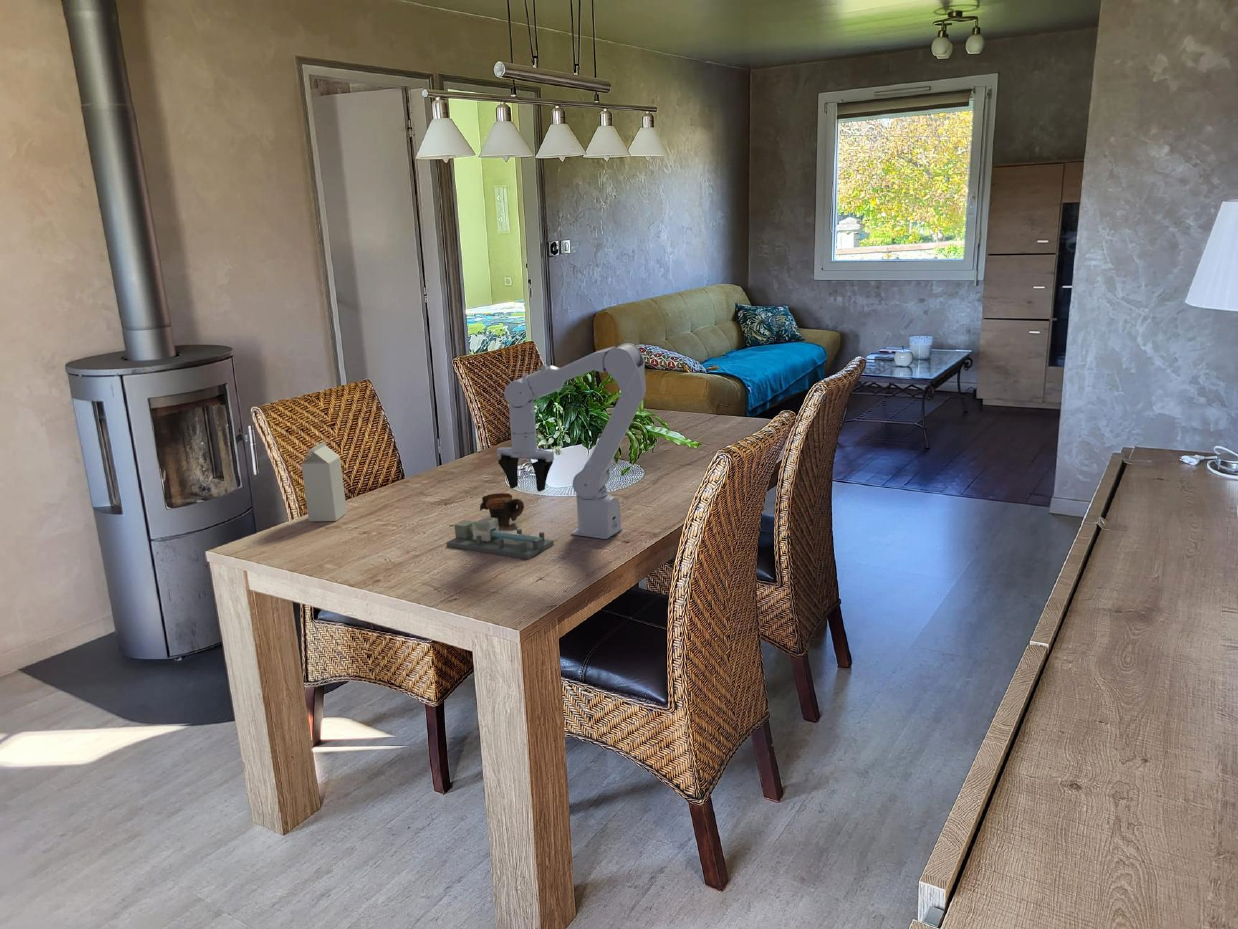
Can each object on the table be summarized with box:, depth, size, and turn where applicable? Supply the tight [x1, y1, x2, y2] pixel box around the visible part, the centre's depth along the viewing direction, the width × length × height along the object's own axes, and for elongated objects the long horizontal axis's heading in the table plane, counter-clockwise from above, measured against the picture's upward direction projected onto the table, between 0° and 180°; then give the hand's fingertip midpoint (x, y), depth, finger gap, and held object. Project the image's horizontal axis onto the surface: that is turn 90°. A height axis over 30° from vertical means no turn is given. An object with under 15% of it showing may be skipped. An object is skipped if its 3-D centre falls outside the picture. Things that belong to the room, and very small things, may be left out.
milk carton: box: [300, 440, 348, 522], centre depth 229 cm, size 7×7×19 cm
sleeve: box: [472, 516, 499, 541], centre depth 205 cm, size 4×4×4 cm
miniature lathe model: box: [446, 519, 555, 560], centre depth 204 cm, size 22×10×4 cm, turn 61°
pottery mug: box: [479, 492, 525, 527], centre depth 221 cm, size 12×10×8 cm
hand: (527, 488), depth 212 cm, fingers open, 7 cm apart
